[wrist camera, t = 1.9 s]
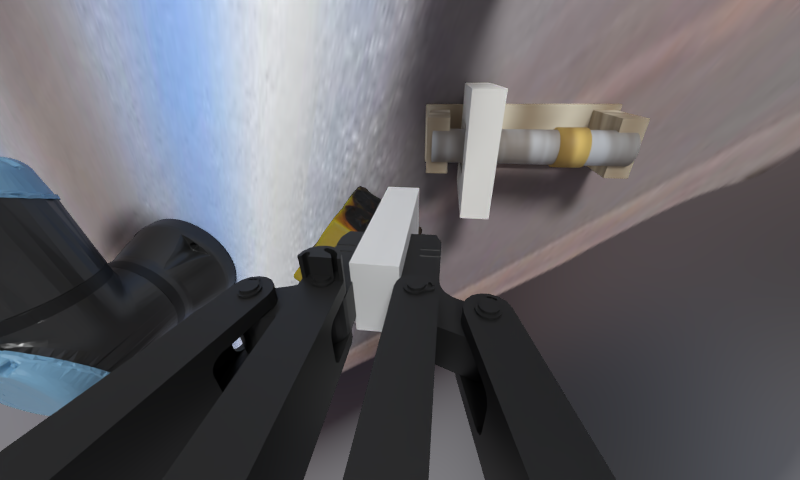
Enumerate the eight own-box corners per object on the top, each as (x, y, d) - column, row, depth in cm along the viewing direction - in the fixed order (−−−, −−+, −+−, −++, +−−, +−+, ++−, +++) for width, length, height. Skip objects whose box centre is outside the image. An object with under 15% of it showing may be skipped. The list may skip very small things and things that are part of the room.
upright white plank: (456, 180, 34) (459, 217, 26) (465, 82, 30) (472, 88, 21) (478, 181, 34) (488, 219, 26) (489, 82, 29) (507, 88, 21)
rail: (424, 160, 35) (419, 181, 28) (426, 103, 32) (421, 113, 25) (599, 164, 32) (638, 188, 26) (619, 103, 29) (669, 114, 23)
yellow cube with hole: (423, 228, 39) (417, 273, 31) (381, 274, 44) (365, 324, 36) (359, 181, 37) (334, 215, 29) (322, 235, 42) (290, 278, 34)
